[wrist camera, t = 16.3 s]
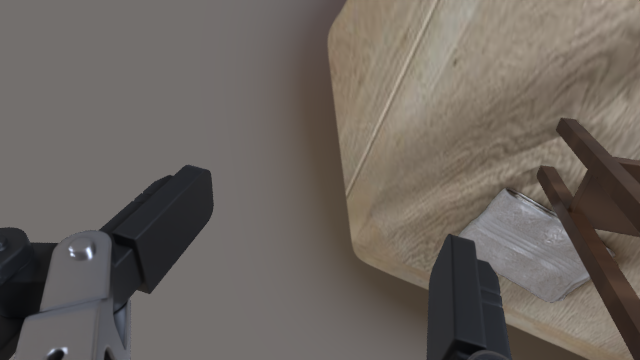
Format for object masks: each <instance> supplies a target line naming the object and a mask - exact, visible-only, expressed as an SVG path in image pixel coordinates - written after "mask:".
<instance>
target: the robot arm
mask: <svg viewBox="0 0 640 360" xmlns="http://www.w3.org/2000/svg"><path fill="white" fill-rule="evenodd" d="M213 204H214V203H213V191H212V178H211V173H210V171H209V170H207V169H202V168H199V167H195V166H191V165H186V166H184V167H183V168H182V169H181V170H180V171H179V172H178V173H176V174H175V175H174V176H171V175H168V176H166V177H164V178H162V179H160V180H157V181H155V182H154V183H152V184H151V185H150V186H149V187H148V188H147V189H146V190H144V191H143V194H142V193H141V194H140V195H139V196H138V197H136V198H135V200H134V201H132V202H131V203H130V204H128V205H127V206H126V207H125V208H124V209H123V210H121V211H120V212H119V213H118V214H117V215H116V216H115V217H113V218H112V219H111V220H110V221H109V222H108V223H107V224H106V225H105V226H103V227H102V228H101V229H100V230H98V231H96V230H90V231H83V232H79V233H75V234H73V235H71V236H69V237H67V238H65V239H64V240H62V241H61V242H60V243H30V241H29V239H28V237H27V235H26V233H24V231H22V230H20V229H18V228H10V227H8V228H0V360H9V359H10V358H11V357H12V355H13V354H14V353H15V352H16V353H15V357H14V360H131V358H130V339H131V337H130V335H131V300H130V297H131V296H132V294H133V293H134V292H135V291H136V290H139V291H142V292H145V293H148V294H150V293H151V292H152V291H153V290H154V288H155V287H156V286H157V285H158V283H159V282H160V281H161V280H162V278H163V277H164V276H165V275H166V273H167V272H168V271H169V270H170V269H171V267H172V266H173V265H174V263H175V262H176V261H177V260H178V259H179V257H180V256H181V255H182V254H183V252H184V251H185V250H186V249H187V247H188V246H189V245H190V244H191V242H192V241H193V240H194V239H195V237H196V236H197V235H198V234H199V232H200V231H201V230H202V229H203V227H204V226H205V225H206V224H207V222H208V221H209V219H210V217H211V215H212V212H213V206H214V205H213ZM428 305H429V306H428V333H427V334H428V335H427V360H512V358H511V353H510V347H509V341H508V335H507V329H506V323H505V317H504V311H503V308H502V306H503V305H502V299H501V296H500V287H499V281H498V277H497V275H496V273H495V272H494V270H493V268H492V267H491V265H490V264H489V262H487V261H483V260H479V259H477V255H476V246H475V242H474V241H473V240H470V239H466V238H462V237H459V236H455V235H451V234H449V235H448V236H447V237H446V239H445V241H444V244H443V246H442V248H441V250H440V253H439V255H438V257H437V259H436V262H435V264H434V266H433V269H432V272H431V276H430V282H429V302H428Z"/></svg>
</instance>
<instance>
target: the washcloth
mask: <svg viewBox="0 0 640 360" xmlns="http://www.w3.org/2000/svg"><path fill="white" fill-rule="evenodd" d="M458 236H459V237H462V238H466V239H470V240H473V241H474V242H475V246H476V255H477V259H479V260H483V261H487V262H489V264H490V265H491V267H492V268H493V270H494V271H496V272H497V273H498V274H499V275H502V276H504V277H506V278H507V279H509V280H511V281H512V282H514V283H516V284H518V285H520V286H522V288H525V289H526V290H528V291H530V292H531V293H533V294H534V295H536V296H538V297H539V298H541V299H543V300H545V301H546V302H550V303H553V302H555V301H562V300H564V299H565V297H566V295H567V294H569V293H570V292H571V291H572V290H574V289H575V288H577V287H579V286H581V285H582V284H583V283H585V282H586V281H588V280H590V279H591V278H590V276H589V274H588V272H587V270H586V268H585V267H584V265H583V263H582V261H581V259H580V257H579V255H578V253H577V252H576V250H575V248H574V246H573V244H572V242H571V240H570V238H569V237H568V235H567V233H566V231H565V229H564V227H563V225H562V223H561V222H560V220H559V218H558V216H557V214H556V213H554V212H552V211H550V210H548V209H547V208H545V207H543V206H541V205H539V204H538V203H536V202H534V201H533V200H531V199H529V198H528V197H526V196H524V195H523V194H521V193H519V192H517V191H515V190H513V189H511V188H505V189H503V190H502V191H501V192H500V193H499V194H498V195H497V196H496V197H495V198H494V199H493V200H492V201H491V203H490V204H489V206H488V207H487V209H486V210H485V211H484V212H483V213H482V214H481V215H480V216H479V217H478V218H477V219H474V220H473V221H472V222H470V224H469V225H468V226H467V227H466V228H465V229H464V230H463V231H462V232H461V233H460V234H459V235H458ZM603 244H604V243H603ZM605 247H606V246H605ZM606 248H607V247H606ZM607 250H608V251H609V253H610V255H611V256H612V258H613V257H615V253H614V252H613V251H611V249H608V248H607ZM614 261H615V260H614ZM615 262H616V261H615Z"/></svg>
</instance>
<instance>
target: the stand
mask: <svg viewBox="0 0 640 360" xmlns="http://www.w3.org/2000/svg"><path fill="white" fill-rule="evenodd" d="M556 131H557V132H558V133H559V135H560V136H561V137H562V138H563V139H564V141H565V142H566V143H567V144H568V146H569V147H570V148H571V149H572V151H573V152H574V153H575V154H576V156H577V157H578V158H579V159H580V161H581V162H582V163H583V164H584V165H585V167H586V168H587V169H588V170H587V172H586V174H585V176H584V178H583V180H582V182H581V184H580V186H579V188H578V190H577V192H576V194H575V196H574V197H573V196H572V194H571V193H570V191H569V190H568V188H567V187H566V185H565V184H564V182H563V180H562V179H561V177H560V176H559V174H558V173H557V171H556V170H555V168H554V167H548V166H540V168H539V171H538V173H537V175H536V177H537V179H538V180H539V182H540V184H541V186H542V188H543V190H544V192H545V194H546V195H547V197H548V199H549V201H550V203H551V205H552V207H553V209H554V210H555V212H556V214H557V216H558V218H559V220H560V222H561V223H562V225H563V227H564V229H565V231H566V233H567V235H568V237H569V238H570V240H571V242H572V244H573V246H574V248H575V250H576V252H577V253H578V255H579V257H580V259H581V261H582V263H583V265H584V267H585V268H586V270H587V272H588V274H589V276H590V278H591V280H592V281H593V283H594V285H595V287H596V289H597V291H598V293H599V295H600V296H601V298H602V300H603V302H604V304H605V306H606V308H607V310H608V311H609V313H610V315H611V317H612V319H613V321H614V323H615V325H616V326H617V328H618V330H619V332H620V334H621V336H622V338H623V339H624V341H625V343H626V345H627V347H628V349H629V351H630V353H631V354H632V356H633V358H634V360H640V299H639V298H638V296H637V295H636V293H635V292H634V290H633V288H632V287H631V285H630V284H629V282H628V281H627V279H626V278H625V276H624V275H623V273H622V271H621V270H620V268H619V267H618V265H617V264H616V262H615V261H614V259H613V258H612V256H611V255H610V253H609V251H608V250H607V248H606V247H605V245H604V244H603V242H602V241H601V239H600V238H599V236H598V234H597V233H596V231H595V230H594V229H599V230H604V231H610V232H615V233H621V234H626V235H632V236H637V237H640V161H638V160H631V159H625V158H618V157H612V156H611V155H610V154H609V153H608V152H607V151H606V150H605V149H604V148H603V147H602V146H601V145H600V144H599V143H598V142H597V141H596V140H595V139H594V138H593V137H592V136H591V135H590V134H589V133H588V132H587V131H586V130H585V129H584V128H583V127H582V126H581V125H580V124H579V123H578V122H577V121H576V120H574V119H567V118H561V119H560V122H559V124H558V126H557V129H556Z"/></svg>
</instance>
